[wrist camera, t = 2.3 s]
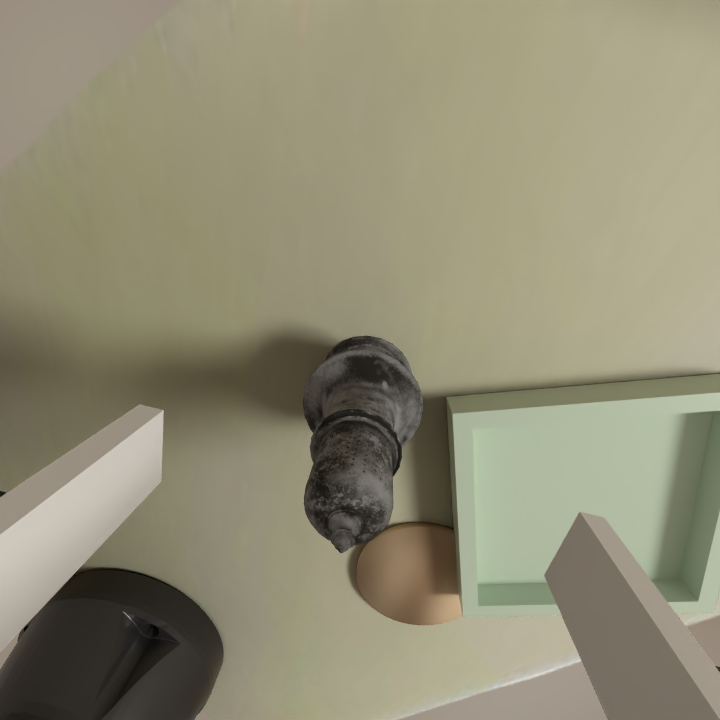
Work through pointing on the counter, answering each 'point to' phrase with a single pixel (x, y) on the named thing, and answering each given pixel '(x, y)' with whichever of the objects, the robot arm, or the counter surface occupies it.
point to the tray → (586, 487)
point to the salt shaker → (358, 437)
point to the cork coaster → (411, 574)
